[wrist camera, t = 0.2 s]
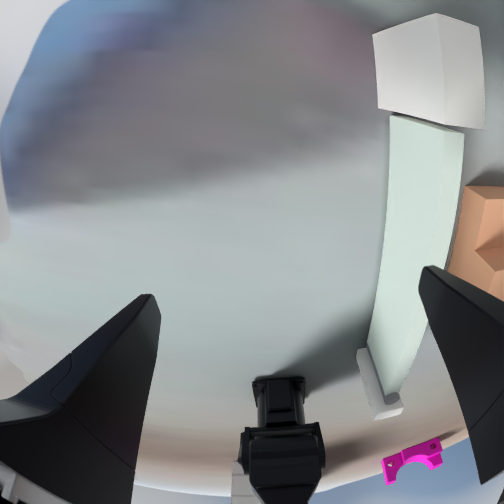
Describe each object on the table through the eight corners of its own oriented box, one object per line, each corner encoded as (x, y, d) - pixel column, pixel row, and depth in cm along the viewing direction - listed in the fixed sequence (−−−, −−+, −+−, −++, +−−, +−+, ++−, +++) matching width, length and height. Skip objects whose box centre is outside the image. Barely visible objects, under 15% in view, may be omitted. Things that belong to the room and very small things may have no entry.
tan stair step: (483, 268, 27) (515, 305, 21) (445, 274, 27) (478, 316, 21) (502, 186, 22) (546, 215, 16) (463, 185, 22) (510, 216, 16)
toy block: (438, 436, 53) (445, 459, 46) (432, 444, 56) (439, 466, 49) (384, 455, 55) (389, 480, 48) (381, 461, 58) (386, 485, 51)
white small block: (378, 353, 33) (399, 414, 25) (355, 357, 33) (373, 420, 25) (406, 39, 16) (478, 27, 8) (372, 34, 16) (436, 13, 8)
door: (386, 345, 31) (407, 400, 24) (364, 349, 31) (383, 406, 24) (418, 117, 19) (482, 137, 12) (389, 115, 19) (449, 133, 12)
